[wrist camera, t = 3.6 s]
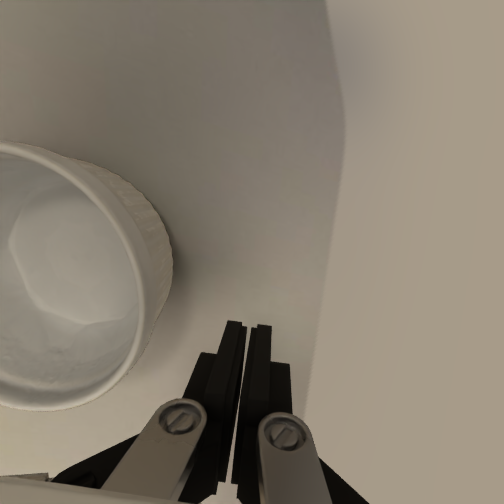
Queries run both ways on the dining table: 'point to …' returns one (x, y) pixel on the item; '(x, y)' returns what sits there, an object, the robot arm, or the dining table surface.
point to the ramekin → (73, 278)
